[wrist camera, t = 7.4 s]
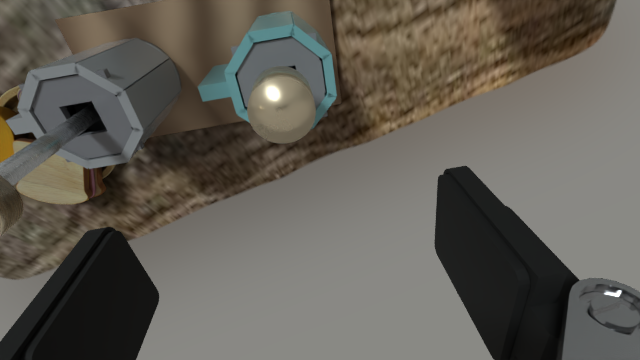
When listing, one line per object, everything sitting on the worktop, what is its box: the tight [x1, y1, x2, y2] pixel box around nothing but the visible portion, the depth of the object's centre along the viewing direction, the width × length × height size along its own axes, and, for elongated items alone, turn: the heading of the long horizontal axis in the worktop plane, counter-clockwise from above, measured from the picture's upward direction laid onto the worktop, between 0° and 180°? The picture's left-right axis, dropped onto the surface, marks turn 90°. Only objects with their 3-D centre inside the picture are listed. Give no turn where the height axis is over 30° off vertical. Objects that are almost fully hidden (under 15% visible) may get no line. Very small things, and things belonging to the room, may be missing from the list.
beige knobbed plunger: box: [247, 65, 316, 144], centre depth 26 cm, size 5×5×16 cm
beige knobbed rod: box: [0, 101, 106, 237], centre depth 20 cm, size 5×5×16 cm
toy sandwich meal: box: [0, 86, 116, 204], centre depth 37 cm, size 12×14×5 cm
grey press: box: [6, 38, 181, 169], centre depth 29 cm, size 10×8×12 cm
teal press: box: [198, 11, 337, 130], centre depth 29 cm, size 10×8×12 cm
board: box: [55, 0, 342, 138], centre depth 35 cm, size 26×13×1 cm, turn 99°
